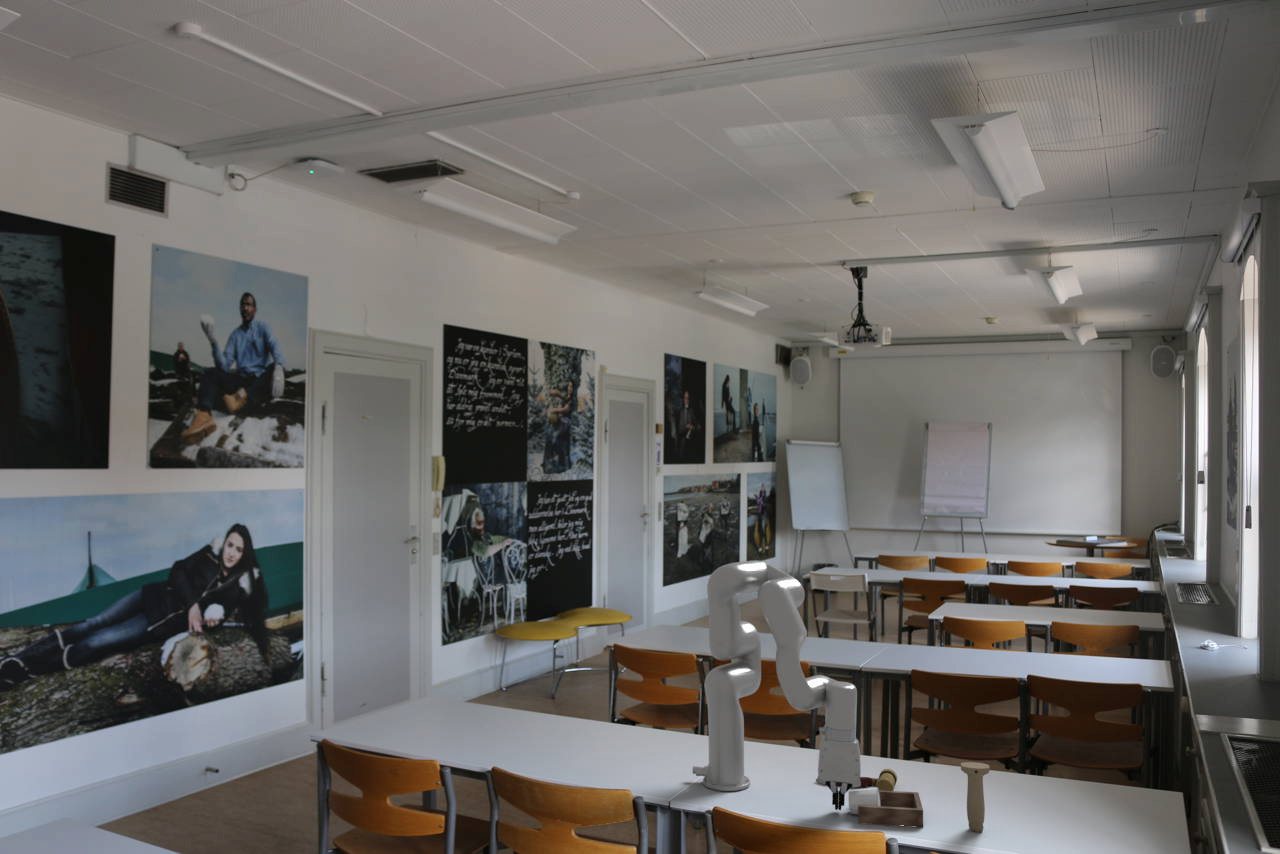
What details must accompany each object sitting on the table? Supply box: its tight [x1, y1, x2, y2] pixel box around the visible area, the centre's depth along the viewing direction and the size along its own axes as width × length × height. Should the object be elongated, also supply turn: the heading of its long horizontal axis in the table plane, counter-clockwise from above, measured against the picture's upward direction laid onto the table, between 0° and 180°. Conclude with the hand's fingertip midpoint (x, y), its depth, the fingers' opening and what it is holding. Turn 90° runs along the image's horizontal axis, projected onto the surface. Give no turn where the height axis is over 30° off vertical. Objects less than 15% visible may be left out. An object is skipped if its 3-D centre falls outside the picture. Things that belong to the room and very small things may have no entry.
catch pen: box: [857, 790, 924, 828], centre depth 244 cm, size 15×13×4 cm
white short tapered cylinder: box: [847, 787, 881, 816], centre depth 244 cm, size 7×7×7 cm
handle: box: [960, 761, 991, 833], centre depth 234 cm, size 5×6×15 cm
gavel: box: [815, 768, 898, 791], centre depth 266 cm, size 21×5×10 cm
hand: (838, 807), depth 246 cm, fingers closed
